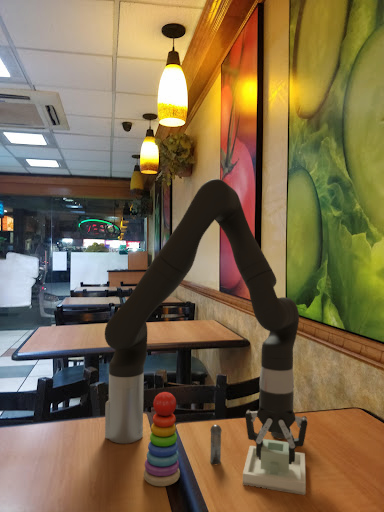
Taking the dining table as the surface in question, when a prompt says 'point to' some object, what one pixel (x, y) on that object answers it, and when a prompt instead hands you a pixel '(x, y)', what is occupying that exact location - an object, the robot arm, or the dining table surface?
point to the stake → (215, 444)
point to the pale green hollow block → (275, 456)
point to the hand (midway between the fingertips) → (275, 460)
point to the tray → (280, 482)
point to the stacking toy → (162, 444)
